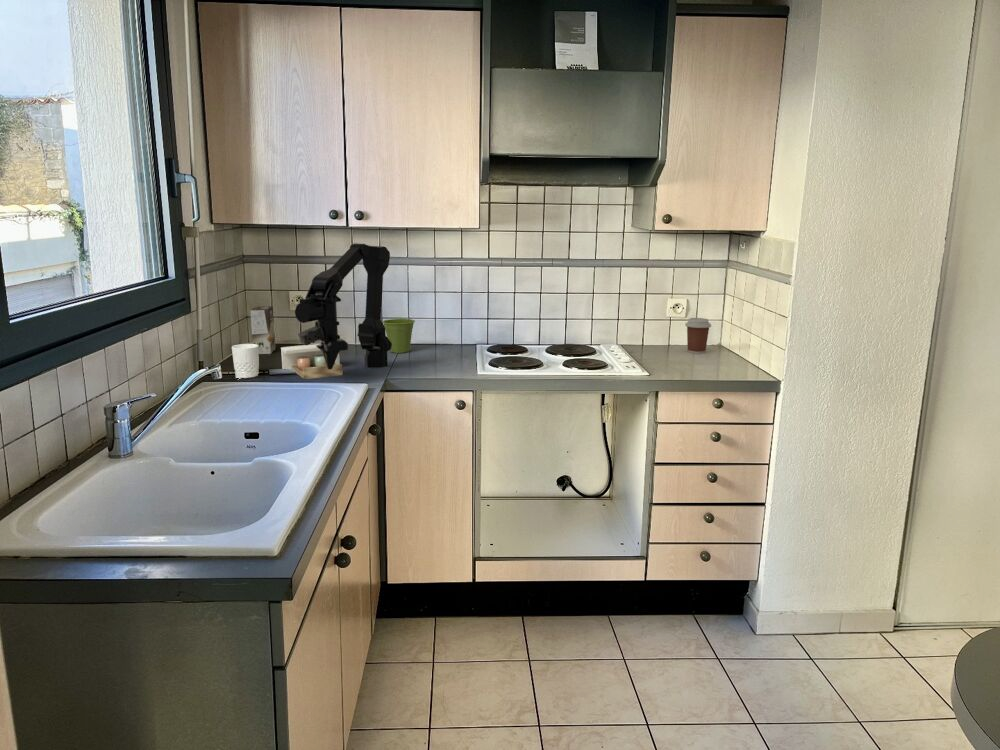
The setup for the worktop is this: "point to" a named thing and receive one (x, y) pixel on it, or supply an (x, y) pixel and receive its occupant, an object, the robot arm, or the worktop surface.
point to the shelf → (300, 354)
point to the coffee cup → (697, 334)
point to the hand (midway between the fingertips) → (329, 369)
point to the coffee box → (263, 329)
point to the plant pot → (399, 334)
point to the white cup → (246, 360)
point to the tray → (318, 371)
